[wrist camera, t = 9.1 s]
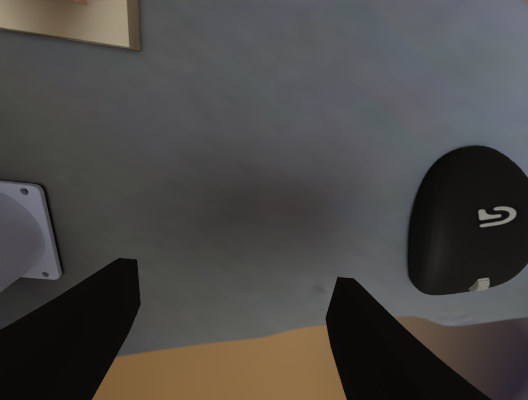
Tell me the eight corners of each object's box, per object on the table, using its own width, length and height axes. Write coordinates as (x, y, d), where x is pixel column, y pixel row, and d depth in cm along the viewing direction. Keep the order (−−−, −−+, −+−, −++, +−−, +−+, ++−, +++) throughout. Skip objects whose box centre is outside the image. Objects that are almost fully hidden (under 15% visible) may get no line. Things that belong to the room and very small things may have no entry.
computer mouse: (518, 134, 18) (587, 146, 14) (489, 273, 22) (535, 309, 19) (407, 154, 18) (446, 171, 14) (401, 287, 23) (429, 325, 19)
